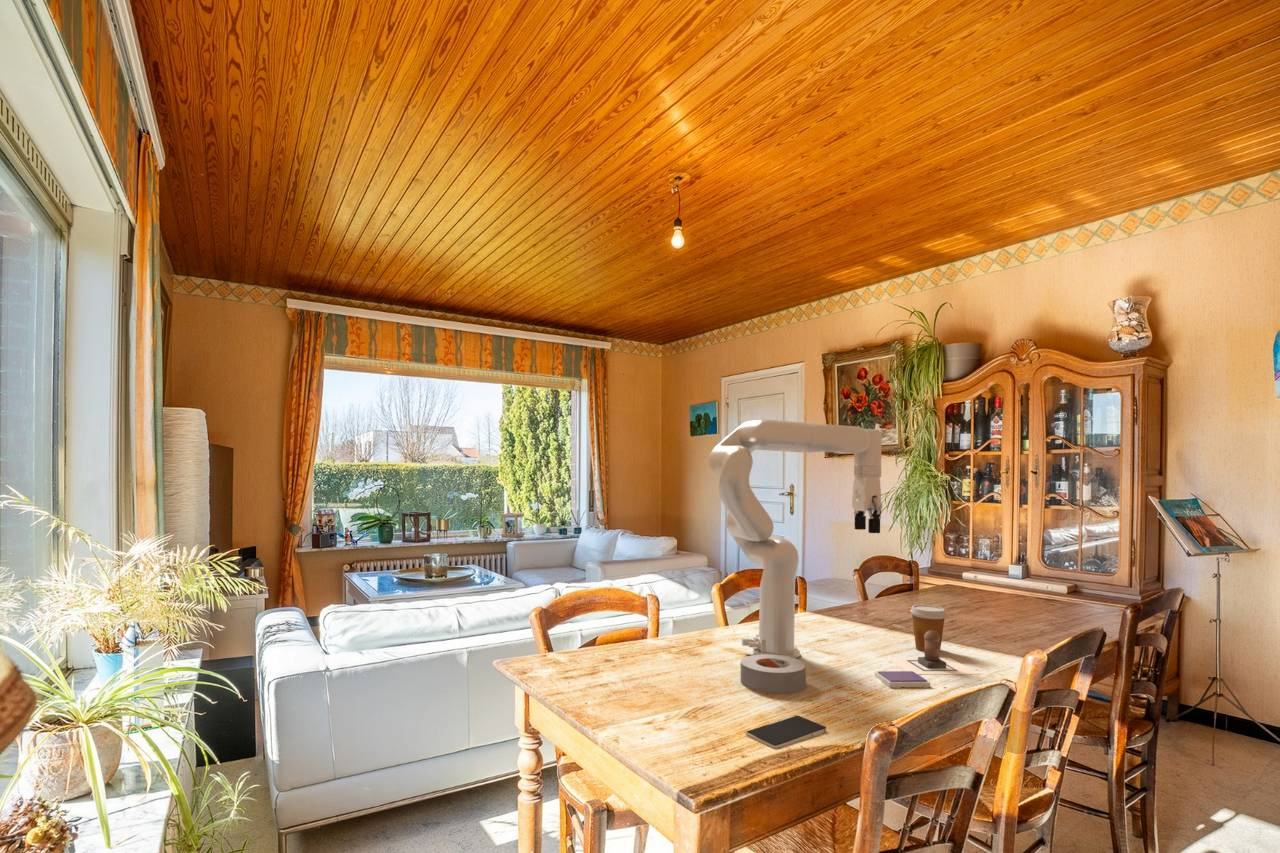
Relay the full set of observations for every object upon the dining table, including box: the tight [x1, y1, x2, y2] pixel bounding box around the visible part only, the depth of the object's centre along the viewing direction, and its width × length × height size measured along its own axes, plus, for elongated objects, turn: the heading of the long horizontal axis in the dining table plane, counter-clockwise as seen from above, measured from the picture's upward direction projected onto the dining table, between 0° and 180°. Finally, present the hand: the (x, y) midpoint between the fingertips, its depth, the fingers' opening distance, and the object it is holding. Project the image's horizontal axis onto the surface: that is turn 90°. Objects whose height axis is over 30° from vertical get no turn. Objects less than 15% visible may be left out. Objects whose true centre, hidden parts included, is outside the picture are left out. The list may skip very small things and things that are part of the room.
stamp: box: [917, 630, 946, 669], centre depth 180 cm, size 5×5×9 cm
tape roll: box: [740, 654, 807, 695], centre depth 164 cm, size 15×15×5 cm
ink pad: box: [874, 670, 931, 689], centre depth 167 cm, size 10×8×2 cm
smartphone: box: [745, 715, 827, 750], centre depth 134 cm, size 8×1×15 cm
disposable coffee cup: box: [909, 604, 947, 653], centre depth 196 cm, size 10×10×12 cm
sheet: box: [886, 657, 980, 676], centre depth 180 cm, size 18×14×1 cm
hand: (867, 531), depth 198 cm, fingers open, 9 cm apart
